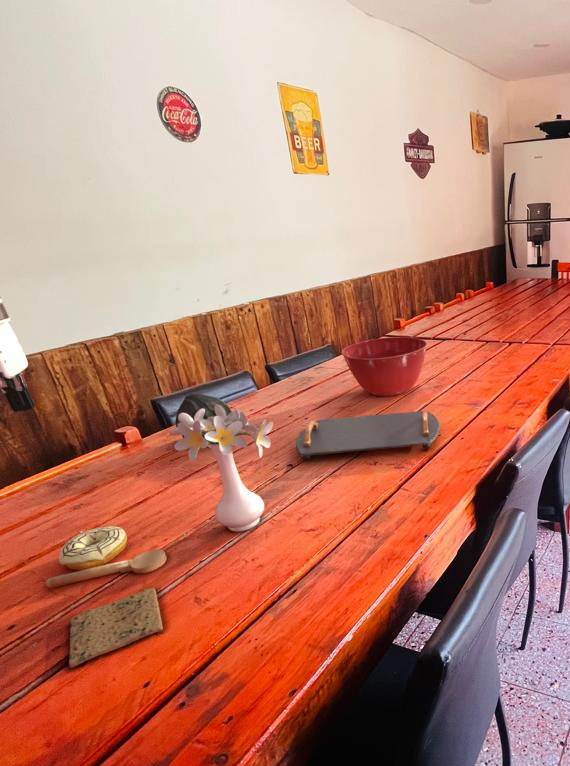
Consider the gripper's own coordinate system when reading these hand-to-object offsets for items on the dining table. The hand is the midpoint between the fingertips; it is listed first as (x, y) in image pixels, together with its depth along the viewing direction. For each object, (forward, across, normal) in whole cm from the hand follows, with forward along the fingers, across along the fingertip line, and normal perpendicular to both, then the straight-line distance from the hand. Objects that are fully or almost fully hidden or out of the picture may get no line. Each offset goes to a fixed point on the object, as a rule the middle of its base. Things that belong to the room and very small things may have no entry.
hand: (24, 409), depth 101 cm
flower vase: (+25, +20, +36) cm, 48 cm away
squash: (+25, -32, +25) cm, 48 cm away
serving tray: (+25, -9, +67) cm, 72 cm away
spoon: (+25, +27, +13) cm, 39 cm away
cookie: (+25, +43, +17) cm, 53 cm away
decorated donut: (+25, +20, +9) cm, 33 cm away
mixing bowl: (+25, -48, +81) cm, 97 cm away
